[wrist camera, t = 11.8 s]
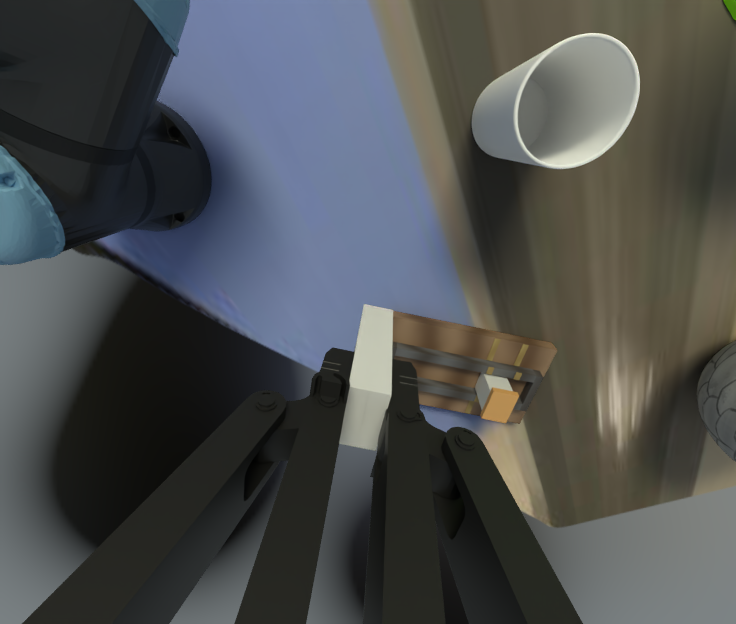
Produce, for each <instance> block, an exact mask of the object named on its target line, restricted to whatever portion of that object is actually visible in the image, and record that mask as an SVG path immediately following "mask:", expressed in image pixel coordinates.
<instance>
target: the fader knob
mask: <svg viewBox="0 0 736 624" xmlns="http://www.w3.org/2000/svg"><path fill="white" fill-rule="evenodd" d="M475 390H476V393H477V396H478V399H479V403H480V406H481V409H482V412H481V414H480V415H481V418H482V419H487V420H492V421H497V422H502V423H506V422H507V420H508V418H509V416H510V414H511V412H512V410H513V408H514V406H515V404H516V402H517V400H518V398H519V395H518V392H514V391H513V390H512V388H511V386H510V383H509V381H508V379H507V377H502V376H497V375H490V374H486V373H480V376H479V378H478V381H477V383H476V385H475Z"/></svg>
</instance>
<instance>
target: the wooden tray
mask: <svg viewBox="0 0 736 624" xmlns="http://www.w3.org/2000/svg"><path fill="white" fill-rule="evenodd" d="M556 352H557V349H556V348H555V346H554V345H553V344H552V343H550V342H545V341H540V340H535V339H530V338H525V337H520V336H516V335H511V334H506V333H501V332H496V331H491V330H486V329H481V328H476V327H471V326H466V325H461V324H456V323H451V322H446V321H441V320H436V319H431V318H426V317H421V316H416V315H411V314H406V313H401V312H396V311H393V342H392V359H396V360H401V361H406V362H411V363H412V365H413V366H414V368H415V369H416V372H417V383H418V385H417V386H418V395H419V404H422V405H427V406H432V407H437V408H442V409H447V410H452V411H457V412H462V413H468V414H473V415H478V416H481V415H480V414H481V412H482V409H481V406H480V403H479V399H478V396H477V393H476V390H475V385H476V383H477V381H478V378H479V376H480V373H486V374H490V375H497V376H502V377H507V379H508V381H509V383H510V386H511V388H512V390H513V391H514V392H518V395H519V398H518V400H517V402H516V404H515V406H514V408H513V410H512V412H511V414H510V416H509V418H508V420H507V421H508V422H513V423H518V424H520V422H521V420H522V418H523V416H524V414H525V412H526V411H527V409H528V407H529V405H530V403H531V401H532V399H533V397H534V395H535V393H536V391H537V389H538V387H539V386H540V384H541V382H542V380H543V378H544V375H545V374H546V372H547V370H548V368H549V366H550V364H551V362H552V360H553V358H554V356H555V354H556Z"/></svg>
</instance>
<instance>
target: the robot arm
mask: <svg viewBox="0 0 736 624" xmlns="http://www.w3.org/2000/svg"><path fill="white" fill-rule="evenodd" d="M189 7H190V0H0V265H7V264H8V265H13V264H20V263H25V262H28V261H32V260H36V259H40V258H51V257H55V256H57V255H58V254H60V252H63V251H66V250H69V249H71V248H74V247H77V246H80V245H83V244H85V243H88V242H91V241H94V240H97V239H100V238H103V237H106V236H109V235H111V234H114V233H117V232H120V231H123V230H126V229H129V228H130V229H139V230H148V231H166V230H172V229H175V228H178V227H180V226H183V225H185V224H187V223H189V222H191V221H192V220H194V219H195V218H196V217H197V216H198V215H199V214H200V213H201V212H202V210H203V209H204V207H205V205H206V203H207V201H208V198H209V195H210V190H211V171H210V165H209V161H208V158H207V155H206V152H205V150H204V147H203V145H202V143H201V141H200V140H199V138H198V136H197V135H196V133H195V132H194V130H193V129H192V128H191V127H190V125H189V124H188V123H187V122H186V121H185V120H184V119H183V118H182V117H181V116H180V115H179V114H177V113H176V112H175V111H174V110H172V109H171V108H169V107H168V106H166V105H164V104H162V103H160V102H158V101H156V100H157V98H158V95H159V93H160V90H161V88H162V85H163V82H164V80H165V77H166V75H167V72H168V70H169V67H170V64H171V62H172V59H173V57H174V56H175V57H177V56H178V53H179V49H178V43H179V40H180V37H181V34H182V31H183V28H184V25H185V22H186V19H187V16H188V13H189ZM392 342H393V310H390V309H385V308H380V307H376V306H371V305H366V304H364V308H363V312H362V317H361V322H360V327H359V332H358V337H357V342H356V346H355V351H354V352H352V351H347V350H342V349H337V348H331V349H330V350H329V351H328V352H327V353H326V354H325V357H324V360H323V364H322V367H321V370H320V372H318V373H316V374H315V375H314V376H313V378H312V383H311V390H310V395H309V396H308V397H306V398H305V399H301V400H296V401H286V400H285V398H284V397H283V396H282V395H281V394H279V393H277V392H274V391H270V390H268V391H267V390H266V391H259V392H256V393H254V394H252V395H251V396H249V397H248V398H247V399H246V400H245V401H244V402H243V403H242V404H241V405H240V406H239V407H238V408H237V409H236V410H235V411H234V412H233V413H232V414H231V415H230V416H229V417H228V418H227V419H226V420H225V421H224V422H223V423H222V424H221V425H220V426H219V427H218V428H217V429H216V430H215V431H214V432H213V433H212V434H211V435H210V436H209V437H208V438H207V439H206V440H205V441H204V442H203V443H202V444H201V445H200V446H199V447H198V448H197V449H196V450H195V451H194V452H193V453H192V454H191V455H190V456H189V457H188V458H187V459H186V460H185V461H184V462H183V463H182V464H181V465H180V466H179V467H178V468H177V469H176V470H175V471H174V472H173V473H172V475H170V476H169V477H168V478H167V479H166V480H165V481H164V482H163V483H162V484H161V485H160V486H159V487H158V488H157V489H156V490H155V491H154V492H153V493H152V494H151V496H149V497H148V498H147V499H146V500H145V501H144V503H142V504H141V505H140V506H139V507H138V508H137V509H136V510H135V511H134V512H133V513H132V514H131V515H130V516H129V517H128V518H127V519H126V520H125V521H124V522H123V524H121V525H120V526H119V527H118V528H117V529H116V530H115V531H114V532H113V533H112V534H111V535H110V536H109V537H108V538H107V539H106V540H105V541H104V542H103V543H102V544H101V545H100V546H99V547H98V548H97V549H96V550H95V551H94V552H93V553H92V554H91V555H90V556H89V557H88V558H87V559H86V560H85V561H84V562H83V563H82V564H81V565H80V566H79V567H78V568H77V569H76V570H75V571H74V572H73V573H72V574H71V575H70V576H69V578H67V579H66V580H65V582H63V584H61V585H60V586H59V587H58V588H57V589H56V590H55V591H54V593H52V594H51V595H50V596H49V597H48V598H47V599H46V600H45V601H44V602H43V603H42V604H41V605H40V607H38V609H36V610H35V611H34V612H33V613H32V614H31V615H30V616H29V617H28V618H27V619H26V620H25V621H24V622H23V623H22V624H169V623H170V622H171V620H172V619H173V617H174V616H175V614H176V613H177V612H178V610H179V609H180V607H181V605H182V604H183V603H184V601H185V600H186V598H187V597H188V595H189V594H190V592H191V591H192V590H193V588H194V587H195V585H196V584H197V582H198V581H199V579H200V578H201V576H202V575H203V573H204V572H205V571H206V569H207V568H208V566H209V565H210V563H211V562H212V560H213V559H214V557H215V556H216V555H217V553H218V551H219V550H220V549H221V547H222V546H223V544H224V543H225V541H226V540H227V538H228V537H229V536H230V534H231V533H232V531H233V529H234V528H235V527H236V525H237V524H238V522H239V521H240V519H241V518H242V517H243V515H244V514H245V512H246V511H247V509H248V508H249V506H250V505H251V503H252V502H253V501H254V499H255V498H256V496H257V494H258V493H259V492H260V490H261V489H262V487H263V486H264V484H265V483H266V482H267V480H268V479H269V477H270V476H271V474H272V473H273V471H274V470H275V468H276V467H277V465H278V463H279V461H286V460H288V463H287V467H286V470H285V473H284V476H283V479H282V482H281V485H280V488H279V491H278V494H277V497H276V500H275V503H274V506H273V509H272V512H271V515H270V518H269V521H268V525H267V527H266V530H265V533H264V536H263V539H262V542H261V545H260V549H259V551H258V554H257V558H256V560H255V564H254V566H253V569H252V572H251V575H250V579H249V582H248V585H247V588H246V591H245V594H244V597H243V600H242V603H241V606H240V609H239V612H238V615H237V618H236V621H235V624H306V620H307V615H308V609H309V604H310V599H311V593H312V587H313V582H314V577H315V571H316V566H317V561H318V555H319V550H320V544H321V539H322V533H323V528H324V522H325V517H326V511H327V506H328V500H329V495H330V490H331V484H332V479H333V474H334V468H335V462H336V457H337V452H338V446H339V444H344V445H349V446H354V447H359V448H364V449H369V450H374V451H376V448H377V444H378V449H377V456H376V459H375V463H374V466H373V469H372V473H371V476H370V477H373V489H372V503H371V517H370V531H369V545H368V560H367V574H366V587H365V601H364V616H363V624H445V614H444V604H443V594H442V584H441V574H440V563H439V553H438V543H437V533H436V524H437V527H438V530H439V533H440V536H441V539H442V542H443V545H444V548H445V551H446V554H447V557H448V560H449V564H450V566H451V569H452V573H453V575H454V579H455V582H456V585H457V588H458V591H459V594H460V597H461V600H462V603H463V606H464V609H465V612H466V615H467V618H468V621H469V624H583V623H582V621H581V620H580V618H579V616H578V614H577V612H576V611H575V609H574V607H573V605H572V603H571V601H570V599H569V598H568V596H567V594H566V592H565V590H564V589H563V587H562V585H561V583H560V582H559V580H558V578H557V576H556V574H555V572H554V570H553V569H552V567H551V565H550V563H549V561H548V560H547V558H546V556H545V554H544V552H543V551H542V549H541V547H540V545H539V543H538V541H537V540H536V538H535V536H534V534H533V532H532V531H531V529H530V527H529V525H528V523H527V522H526V520H525V518H524V516H523V514H522V512H521V511H520V509H519V507H518V505H517V503H516V502H515V500H514V498H513V496H512V494H511V493H510V491H509V489H508V487H507V485H506V484H505V482H504V480H503V478H502V476H501V474H500V473H499V471H498V469H497V467H496V465H495V464H494V462H493V460H492V458H491V456H490V455H489V453H488V451H487V449H486V447H485V445H484V444H483V442H482V441H481V439H480V438H479V437H478V436H477V435H476V434H475V433H473V432H472V431H470V430H468V429H466V428H462V427H453V428H451V429H449V430H448V431H447V433H446V432H444V431H442V430H440V429H437V428H435V427H434V426H432V425H430V424H429V423H428V422H427V421H426V420H425V417H424V414H423V413H422V412H421V411H420V407H419V395H418V386H417V385H418V383H417V372H416V369H415V368H414V366H413V365H412V363H411V362H406V361H401V360H396V359H392ZM435 521H436V523H435Z"/></svg>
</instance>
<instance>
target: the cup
mask: <svg viewBox="0 0 736 624" xmlns="http://www.w3.org/2000/svg"><path fill="white" fill-rule="evenodd" d="M639 90H640V78H639V71H638V67H637V64H636V61H635V59H634V57H633V55H632V54H631V52H630V51H629V49H628V48H627V47H626V46H625V45H624V44H623V43H621V42H620V41H619V40H617V39H615V38H613V37H611V36H608V35H604V34H598V33H587V34H581V35H577V36H573V37H570V38H568V39H565V40H563V41H561V42H559V43H557V44H555V45H554V46H552V47H550V48H549V49H547V50H545V51H543V52H542V53H540V54H538V55H537V56H535V57H533V58H531V59H530V60H528V61H526V62H525V63H523V64H521V65H520V66H518V67H516V68H514V69H513V70H511V71H509V72H508V73H506V74H504V75H503V76H501V77H499V78H497V79H496V80H494V81H493V82H492V83H490V84H489V85H488V86H487V87H486V88H485V89H484V91H483V92H482V93H481V95H480V96H479V98H478V100H477V102H476V104H475V107H474V110H473V114H472V132H473V136H474V139H475V141H476V143H477V144H478V146H479V147H480V148H481V149H482V150H483V151H484V152H485V153H487V154H488V155H490V156H493V157H496V158H501V159H506V160H511V161H516V162H521V163H526V164H531V165H536V166H541V167H546V168H552V169H567V168H574V167H578V166H581V165H584V164H586V163H588V162H590V161H592V160H594V159H596V158H598V157H599V156H601V155H602V154H603V153H605V152H606V151H607V150H608V149H609V148H610V147H612V146H613V145H614V144H615V142H616V141H617V140H618V139H619V138H620V137H621V135H622V134H623V133H624V131H625V130H626V128H627V126H628V125H629V123H630V121H631V119H632V117H633V114H634V112H635V109H636V106H637V102H638V97H639Z"/></svg>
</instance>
